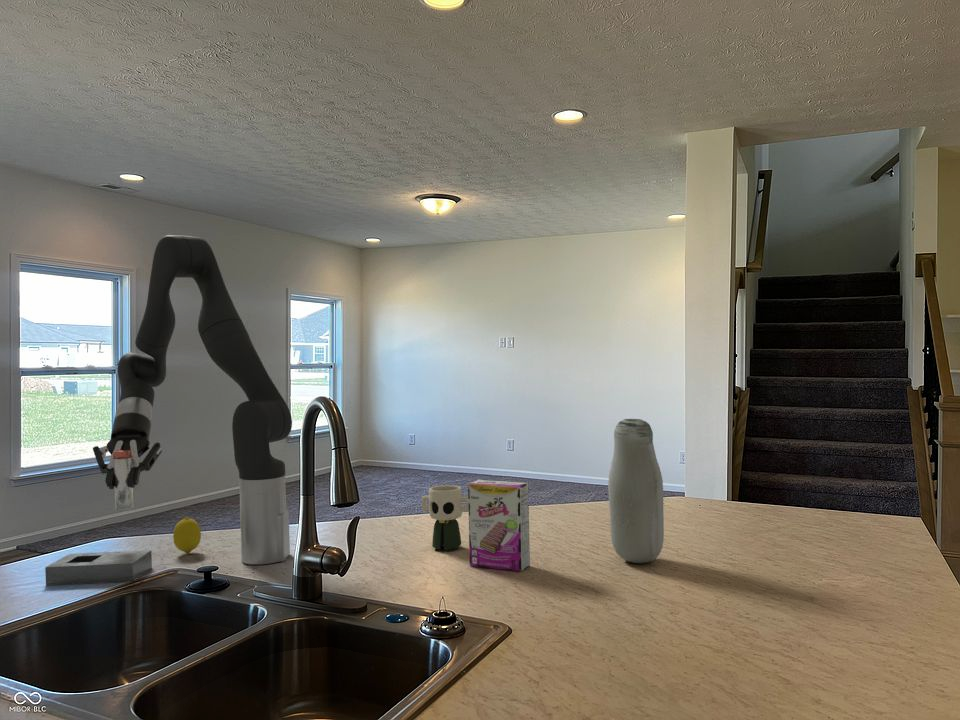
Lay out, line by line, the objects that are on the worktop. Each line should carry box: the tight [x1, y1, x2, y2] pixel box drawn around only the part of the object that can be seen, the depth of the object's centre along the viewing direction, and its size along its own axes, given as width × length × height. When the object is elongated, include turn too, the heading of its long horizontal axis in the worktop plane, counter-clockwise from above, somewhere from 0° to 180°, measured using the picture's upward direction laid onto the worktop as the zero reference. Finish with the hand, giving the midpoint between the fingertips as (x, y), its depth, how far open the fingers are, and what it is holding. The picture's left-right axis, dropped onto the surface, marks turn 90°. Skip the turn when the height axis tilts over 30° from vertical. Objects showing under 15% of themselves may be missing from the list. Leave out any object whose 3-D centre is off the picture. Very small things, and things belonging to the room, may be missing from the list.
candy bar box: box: [467, 479, 531, 572], centre depth 140 cm, size 11×5×16 cm, turn 65°
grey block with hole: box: [44, 549, 153, 586], centre depth 140 cm, size 16×9×4 cm, turn 94°
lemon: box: [172, 516, 202, 555], centre depth 155 cm, size 6×6×8 cm
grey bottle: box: [607, 418, 665, 564], centre depth 141 cm, size 10×10×28 cm
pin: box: [113, 450, 135, 511], centre depth 149 cm, size 3×3×12 cm
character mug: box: [421, 484, 469, 551], centre depth 154 cm, size 11×7×13 cm, turn 74°
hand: (121, 485), depth 147 cm, fingers closed on pin, 3 cm apart
